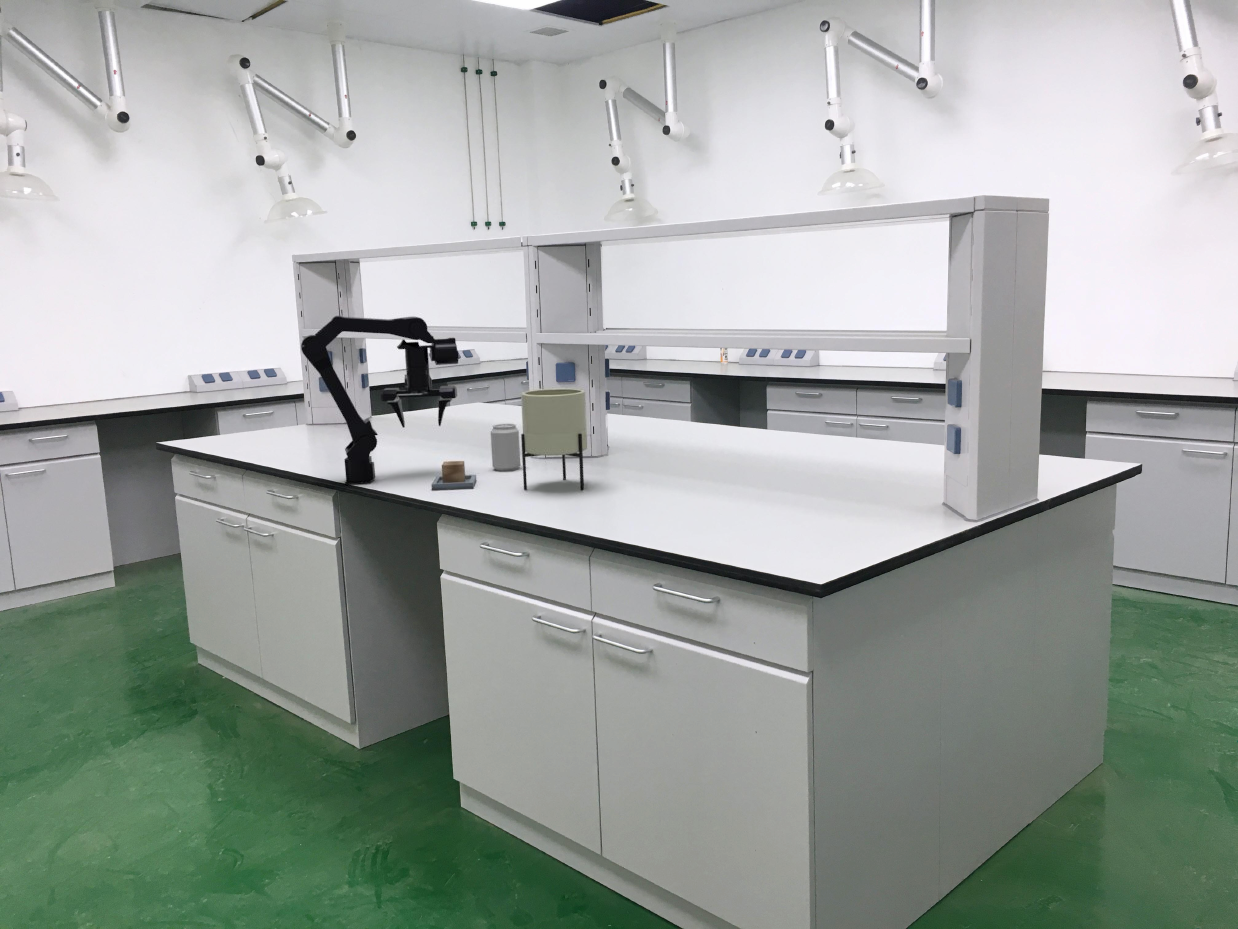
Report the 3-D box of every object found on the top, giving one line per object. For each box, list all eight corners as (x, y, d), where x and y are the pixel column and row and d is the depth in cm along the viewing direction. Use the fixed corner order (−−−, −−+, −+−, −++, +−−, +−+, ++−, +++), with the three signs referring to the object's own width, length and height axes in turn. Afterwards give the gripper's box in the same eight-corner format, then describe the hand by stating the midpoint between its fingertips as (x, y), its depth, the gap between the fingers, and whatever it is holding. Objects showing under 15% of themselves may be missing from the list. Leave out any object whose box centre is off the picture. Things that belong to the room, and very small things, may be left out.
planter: (516, 484, 240) (511, 391, 236) (577, 478, 246) (573, 386, 241) (532, 496, 226) (528, 397, 222) (597, 489, 232) (593, 392, 227)
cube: (443, 485, 238) (441, 465, 238) (445, 481, 243) (443, 461, 242) (463, 484, 239) (462, 464, 238) (465, 480, 244) (464, 460, 243)
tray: (431, 490, 236) (431, 484, 236) (436, 482, 246) (436, 476, 245) (473, 488, 237) (472, 482, 236) (476, 480, 246) (476, 474, 246)
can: (494, 472, 256) (492, 427, 254) (490, 467, 263) (488, 423, 261) (523, 470, 258) (520, 425, 256) (518, 465, 265) (515, 421, 263)
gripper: (457, 362, 258) (460, 420, 260) (385, 365, 256) (390, 423, 259) (453, 365, 247) (457, 426, 249) (378, 368, 245) (383, 429, 248)
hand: (421, 426), depth 252 cm, fingers open, 9 cm apart
